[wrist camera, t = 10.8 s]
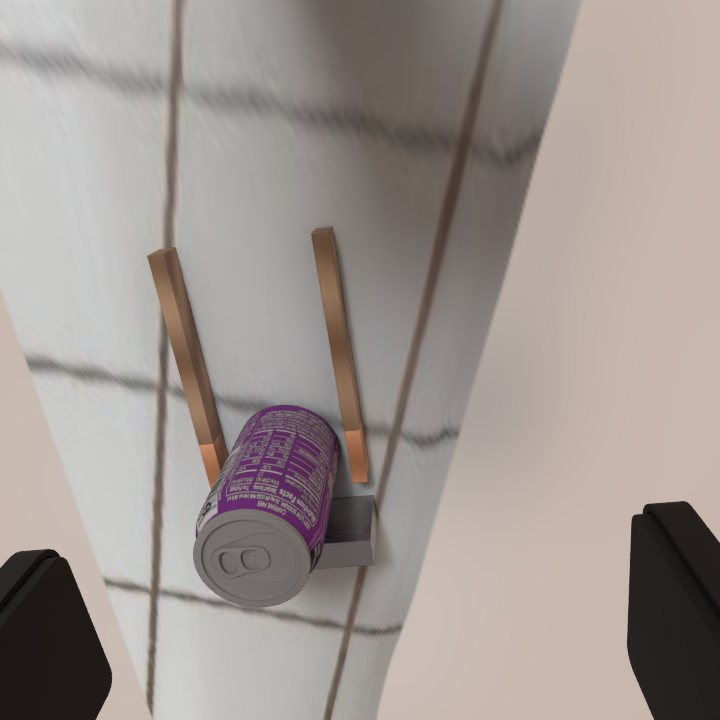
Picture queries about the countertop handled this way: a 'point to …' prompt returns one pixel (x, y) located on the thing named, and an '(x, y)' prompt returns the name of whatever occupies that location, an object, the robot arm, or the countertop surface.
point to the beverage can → (268, 508)
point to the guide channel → (352, 514)
